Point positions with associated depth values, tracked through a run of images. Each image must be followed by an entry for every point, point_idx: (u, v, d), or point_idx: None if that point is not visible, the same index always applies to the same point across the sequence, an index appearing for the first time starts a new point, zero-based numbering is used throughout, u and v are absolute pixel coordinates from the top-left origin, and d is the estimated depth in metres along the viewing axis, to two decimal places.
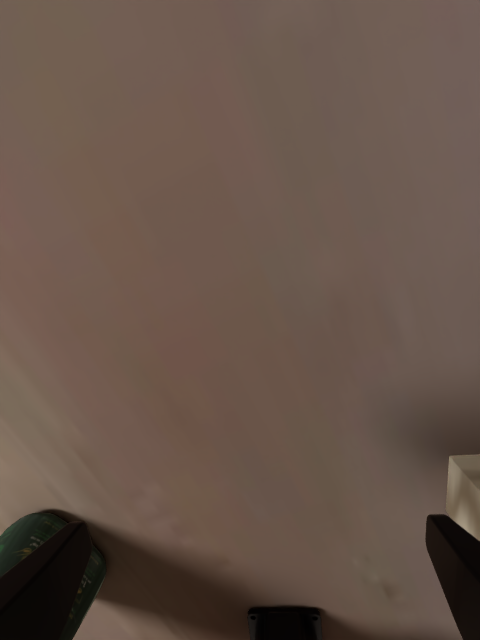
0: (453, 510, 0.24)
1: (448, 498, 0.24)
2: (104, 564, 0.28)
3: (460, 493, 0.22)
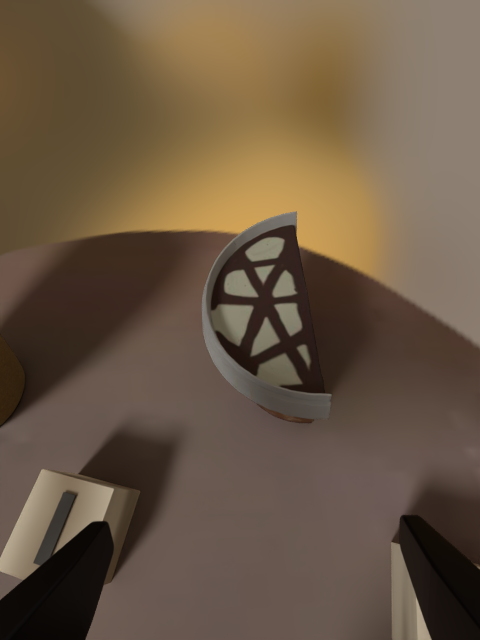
0: None
1: None
2: None
3: None
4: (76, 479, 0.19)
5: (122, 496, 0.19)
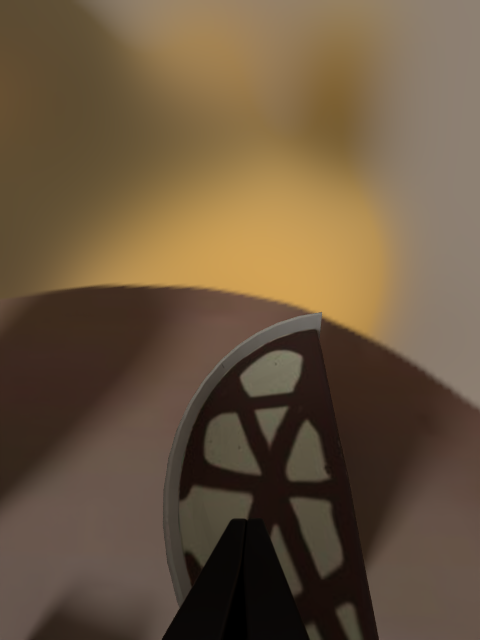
0: None
1: None
2: None
3: None
4: None
5: None
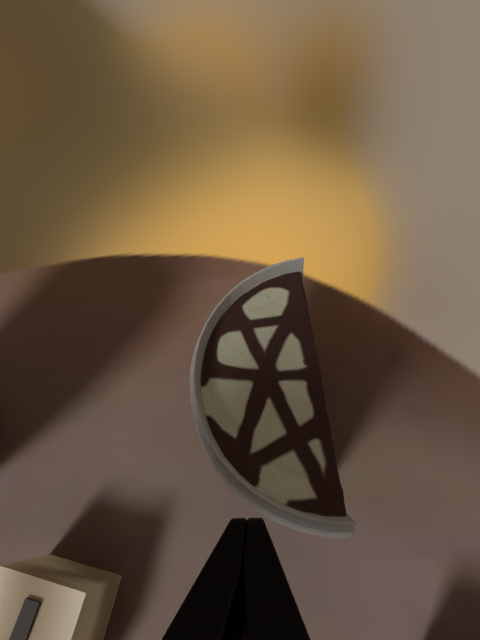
0: None
1: None
2: None
3: None
4: (41, 580, 0.16)
5: (98, 594, 0.16)
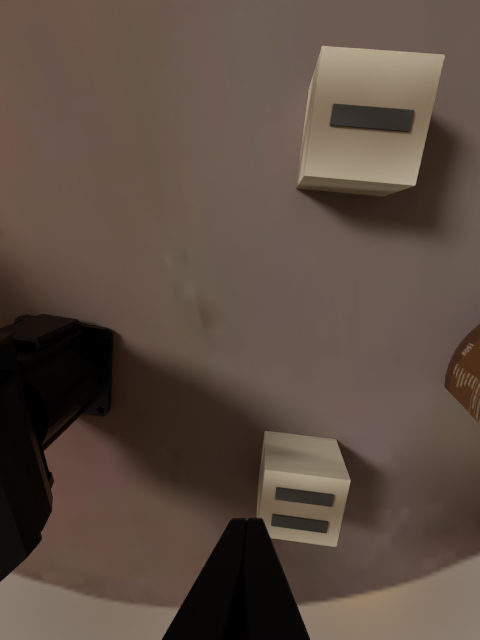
0: (299, 168, 0.17)
1: (299, 161, 0.18)
2: None
3: (307, 117, 0.16)
4: (428, 122, 0.14)
5: (394, 189, 0.16)
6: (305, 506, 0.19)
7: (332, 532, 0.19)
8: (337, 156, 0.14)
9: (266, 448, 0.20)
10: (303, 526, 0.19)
